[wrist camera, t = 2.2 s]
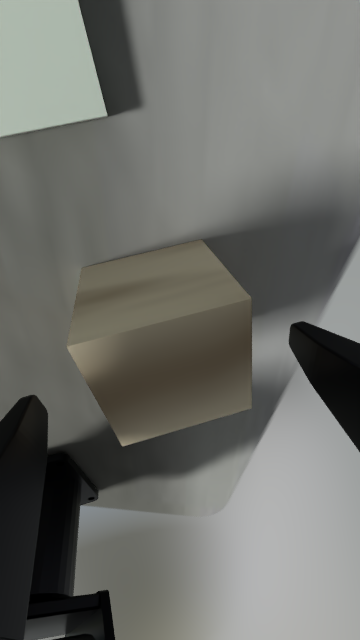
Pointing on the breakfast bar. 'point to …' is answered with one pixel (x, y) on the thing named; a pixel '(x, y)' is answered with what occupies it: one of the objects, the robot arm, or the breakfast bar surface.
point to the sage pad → (45, 67)
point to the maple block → (163, 340)
